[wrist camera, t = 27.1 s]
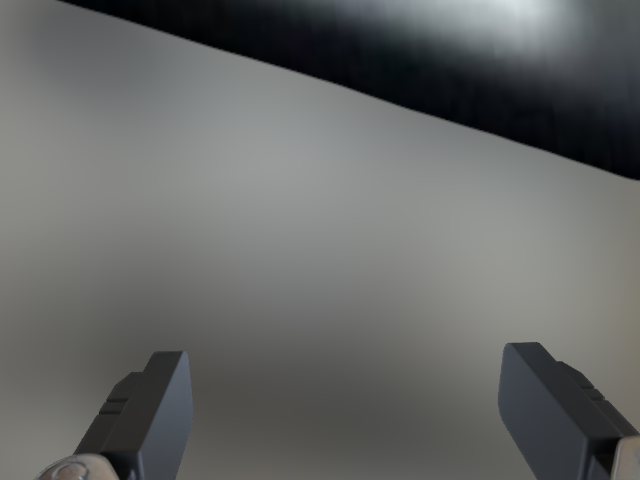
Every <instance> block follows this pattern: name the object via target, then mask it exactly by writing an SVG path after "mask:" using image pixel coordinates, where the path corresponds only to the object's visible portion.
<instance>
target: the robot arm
mask: <svg viewBox="0 0 640 480" xmlns="http://www.w3.org/2000/svg"><path fill="white" fill-rule="evenodd" d="M498 406H499V412H500V415H501V418H502V421H503V422H504V424H505V426H506V428H507V430H508V431H509V433H510V435H511V436H512V438H513V440H514V441H515V443H516V444H517V446H518V448H519V450H520V451H521V453H522V455H523V456H524V458H525V460H526V462H527V463H528V465H529V467H530V468H531V470H532V472H533V473H534V475H535V477H536V478H537V480H640V434H639V432H638V431H637V430H636V429H635V428H634V427H633V426H632V425H631V424H630V423H629V422H628V421H627V420H626V419H625V418H624V417H623V416H622V415H621V414H620V413H619V412H618V411H617V410H616V409H615V407H614V406H613V405H612V404H611V403H610V402H609V401H606V400H605V397H604V396H603V395H602V394H601V393H600V392H599V391H598V390H597V389H594V386H593V385H592V384H591V382H590V381H589V380H588V379H587V378H586V377H585V376H584V375H583V374H582V373H581V372H579V371H577V370H576V369H574V368H572V367H570V366H569V365H567V364H565V363H564V362H562V361H558V362H557V361H556V360H555V359H554V358H553V357H552V356H551V355H550V354H549V353H548V352H547V351H546V349H545V348H544V347H543V346H542V345H541V344H540V343H537V342H530V343H529V342H528V343H507V344H506V345H505V347H504V351H503V358H502V366H501V375H500V383H499V392H498ZM192 420H193V401H192V391H191V382H190V371H189V362H188V355H187V353H186V351H157V352H154V353H153V355H152V357H151V358H150V360H149V362H148V364H147V366H146V367H145V369H144V371H143V372H131V373H130V374H129V375H128V376H126V377H125V378H124V379H123V380H121V381H120V382H119V383H118V384H116V385H115V387H114V388H113V390H112V392H111V393H110V395H109V396H108V398H107V401H106V402H105V403H104V404H103V406H102V408H101V409H100V411H99V415H97V416H96V417H95V419H94V421H93V423H92V424H91V426H90V427H89V429H88V431H87V432H86V434H85V436H84V437H83V439H82V440H81V442H80V444H79V445H78V447H77V449H76V450H75V452H74V453H73V455H72V456H69V457H66V458H63V459H61V460H59V461H57V462H55V463H53V464H51V465H50V466H48V467H47V468H45V469H44V470H43V471H42V472H40V473H39V474H38V475H37V476H36V477H35V479H34V480H175V478H176V475H177V472H178V469H179V466H180V463H181V459H182V456H183V453H184V450H185V447H186V444H187V441H188V437H189V434H190V431H191V426H192Z"/></svg>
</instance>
